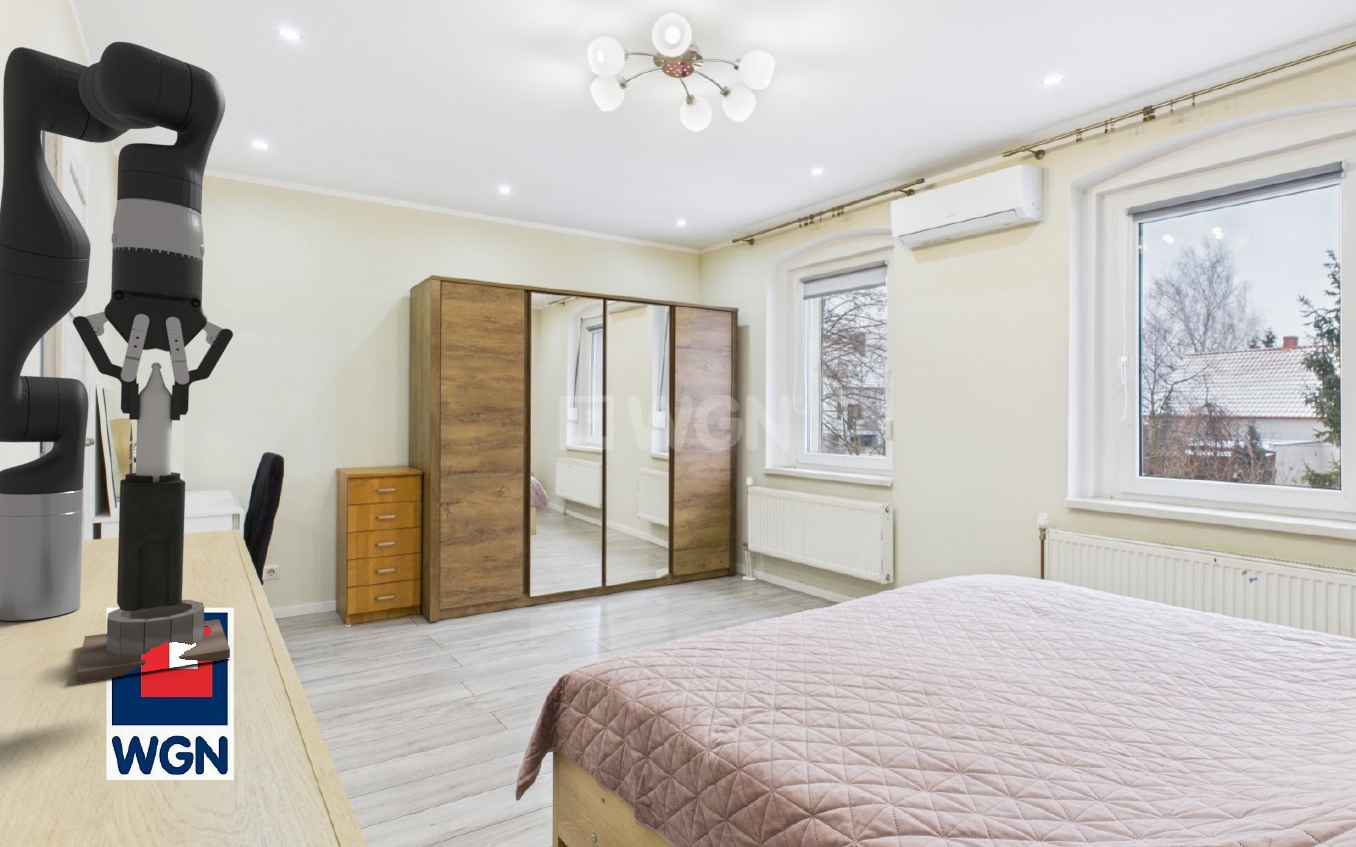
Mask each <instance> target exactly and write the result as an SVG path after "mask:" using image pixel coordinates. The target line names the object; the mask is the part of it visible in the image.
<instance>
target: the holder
mask: <svg viewBox="0 0 1356 847" xmlns="http://www.w3.org/2000/svg"><path fill="white" fill-rule="evenodd" d="M204 626H208V627H210V628H211V631H212V632H211V633H209V634H208V635H206V636H204ZM203 636H204V638H203ZM165 642H168V643H170V642H171V643H172V642H178V643H185V644H188V645H189V644H190V645H192V644H194V643H196V646H195V647H193V648H191V649H190V650H187V651H185V652H184V654H182V655H181V656H179V658H180V659H185V660H197V661H217V662H220V661H219V660H222V659H226V658H230V659H231V657H230V656H231V650H230V646H229V643H228V640H227V637H226V634H225V632H224V629H223V626H222V624H221V620H220V619H219V618H218V619H211V620H205V605H204V603H203V602H202V601H196V600H192V599H182V602H181V603H180V604H177V605H172V606H162V607H154V608H147V609H140V610H136V611H123V610H121V609H120V608H119V607H118V608H117V609H115V610H112V611H110V612H108V613H107V618H106V633H100V634H94V635H93V634H92V635H85V636H84V639H83V643H82V647H81V648H82V649H81V651H80V652H81V653H80V656H79V657H80V658H79V663H78V667H77V671H76V684H82V683H89V682H94V681H95V682H96V681H100V680H106V679H112V678H113V679H115V678H118V677H117V676H121V677H123V676H122V675H123V674H126V673H129V672H130V671H131V670H134V669H135V668H138V667H140V666H141V665H144V664H145V663H146V661H145V660H141V658H140V655H142V654H145V653H147V652H149V651H150V650H151V648H155V647H158V646H160V645H162V644H163V643H165Z"/></svg>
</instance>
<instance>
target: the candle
mask: <svg viewBox="0 0 1356 847" xmlns="http://www.w3.org/2000/svg"><path fill="white" fill-rule="evenodd" d="M150 368H151V369H152V370H151V372H150V374H149V378H148V380H147V382H146V384H145V386H144V387H142V390H140V391H139V393H138V420H136V445H135V446H136V450H135V452H136V453H135V454H136V455H135V472H134V473H133V472H132V473H131V472H130V473H126V474H125V477H124V479H121V480H120V481H119V508H118V509H119V511H118V512H119V514H118V515H119V516H118V517H119V518H118V548H117V549H118V550H117V554H118V555H117V583H116V584H117V586H116V587H117V588H116V589H117V590H116V591H117V592H116V604H117V605H118V609H119V608H120V609H121V610H123V611H136V610H140V609H147V608H154V607H162V606H172V605H177V604H180V603H181V602H182V600H183V577H184V576H183V575H184V548H185V547H184V546H185V544H184V542H185V509H186V508H185V507H186V506H185V505H186V481H185V480H183V479H181V473H179V472H172V471H171V470H172V469H171V468H172V467H171V466H172V441H173V439H172V437H173V436H172V435H173V434H172V433H173V420H172V392H171V391H170V390H169V389H168V387H167V386H166V384H165V380H164V378H163V375H162V372H161V369H162V365H161V364H160V363H159V362H153V363H152V364H151V366H150Z"/></svg>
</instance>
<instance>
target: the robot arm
mask: <svg viewBox="0 0 1356 847" xmlns="http://www.w3.org/2000/svg"><path fill="white" fill-rule="evenodd" d="M2 90H3V92H2V94H3V95H2V97H3V99H2V103H3V106H2V107H3V108H2V112H3V114H2V115H3V116H2V117H3V119H2V120H3V122H2V123H3V172H2V173H3V176H2V188H1V197H0V198H1V199H0V443H54V444H53V446H52V448H51V449H50V450H49V451H48V452H47V453H46V454H43V455H42V456H40V457H38V458H36V459H34V460H32V461H31V460H30V461H29V462H26V463H23V464H18V465H15V466H12V467H8V468H4V469H1V470H0V621H7V622H8V621H9V622H11V621H13V622H15V621H17V622H18V621H29V620H38V619H39V620H40V619H45V618H52V617H57V616H61V615H65V614H68V613H72V612H74V611H77V610H79V608H81V590H82V588H81V586H82V585H81V584H82V559H83V558H82V554H83V549H82V548H83V513H84V510H83V508H84V473H85V451H86V450H85V449H86V439H87V431H88V430H87V428H88V419H89V418H88V417H89V394H88V391H87V388H86V386H85V384H84V383H83V382H82V381H81V380H80V379H78V378H71V377H70V378H69V377H59V376H58V377H57V376H56V377H55V376H53V377H52V376H34V375H21V373H22V370H23V367H24V365H25V363H26V360H27V358H28V357H29V355H30V354H31V352H32V350H34V348H35V346H36V345H37V343H38V342H39V341H40V340H41V339H42V338H43V337H44V336H45V335H46V333H47V332H49V331H50V330H51V329H52V328H53V327H54V326H55V325H57V324H58V322H60V321H61V319H63V318H64V317H66V315H67V314H68V313H69V312H70V311H71V310H72V309H73V308H75V306H76V305H77V304H78V303H79V302H80V300H81V299H82V297H83V296H84V295H85V293H86V291H87V287H88V281H89V272H90V271H89V269H90V259H91V250H92V249H91V241H90V239H89V236H88V234H87V232H86V230H85V228H84V227H83V225H82V223H81V221H80V220H79V218H78V217H77V216H78V215H76V213H75V211H74V210H73V209H72V207H71V206H70V204H69V203H68V201H67V200H66V197H64V195H63V194H62V192H61V190H60V189H59V187H58V185H57V184H56V181H55V179H54V178H53V176H52V174H51V172H50V169H49V167H48V164H47V162H46V158H45V155H44V150H43V144H42V131H43V132H47V133H50V134H55V135H58V136H63V137H67V138H71V139H75V140H79V141H84V142H86V143H87V142H88V143H95V144H96V143H97V144H98V143H100V144H101V143H109V142H112V141H114V140H115V139H117V138H119V137H121V136H122V135H124V134H125V133H127V132H129V130H143V129H144V130H147V129H153V128H156V127H160V128H163V129H167V130H170V131H174V132H176V141H175V142H174V143H173V144H161V143H160V144H158V143H148V142H137V143H136V142H135V143H128V144H126V145H124V146H122V147H121V149H120V151H119V154H118V160H117V161H118V162H117V184H116V185H117V189H116V190H117V193H116V207H115V214H114V217H113V225H112V234H111V243H112V259H111V291H110V293H111V294H110V299H109V302H108V303H107V304H106V305H105V307H104V310H103V311H101V312H96V313H93V314H89V315H86V316H85V315H84V316H83V315H82V316H81V315H78V316H75V317H73V319H72V324H73V326H74V328H75V329H76V331H77V333H78V334H77V335H79V337H80V339H81V341H82V343H83V345H84V346H85V349H86V350H87V352H88V353H89V355H90V358H91V359H92V361H93V363H94V365H95V366H96V368H97V369H96V370H97V371H98V372H99V373H100V374H102V375H105V376H109V377H112V378H115V379H117V380H118V381H119V383H120V384H121V386H120V389H121V390H120V410H121V412H122V414H124V415H125V414H127V415H128V414H129V416H128V420H131V421H134V420H135V421H137V420H138V394H139V393H140V391H139V390H140V388H139V386H140V385H139V383H137V382H138V379H137V378H138V376H137V375H138V371H139V365H140V362H141V358H142V354H143V351H150V350H151V351H152V350H160V351H163V352H167V353H169V356H170V357H169V358H170V362H171V367H172V368H171V369H172V372H173V379H174V384H172V385H171V395H172V421H181V416H187V413H188V411H189V397H190V396H189V395H190V386H191V384H192V383H195V382H199V381H202V380H206V379H208V378H210V376H211V374H212V373H213V371H214V369H215V367H216V366H217V364H218V362H219V361H220V359H221V358H222V355H223V354H224V352H225V350H226V349H227V347H228V346H229V344H230V342H231V340H232V339H233V337H234V333H233V331H232V330H231V329H229V328H222V327H220V326H219V325H217V324H214V323H212V322H210V321H208V318H207V316H206V313H205V312H204V310H203V305H202V304H203V278H204V277H203V276H204V275H203V273H204V271H203V270H204V269H203V268H204V255H205V247H204V245H205V244H204V243H205V242H204V238H205V235H204V230H203V229H204V228H203V221H202V219H203V218H202V209H203V207H202V206H203V204H202V203H203V180H204V173H205V169H206V165H207V162H208V158H209V154H210V152H211V148H212V145H213V142H214V140H215V138H216V135H217V134H218V131H219V128H220V126H221V124H222V121H223V118H224V114H225V112H226V111H225V110H226V97H225V94H224V91H223V88H222V86H221V84H220V82H219V81H218V79H217V78H216V77H215V75H213V74H212V73H211V72H210V71H208V70H206V69H204V68H202V67H200V66H197V65H194V64H191V63H189V62H186V61H183V60H180V59H177V58H176V57H172V56H169V55H168V54H164V53H161V52H159V51H156V50H153V49H151V48H149V47H145V46H143V45H140V44H137V43H132V42H127V41H115V42H111V43H110V44H109V45H108V46H106V47H105V48H104V51H103V52H102V54H101V57H100V60H99V61H98V62H95V63H92V64H91V65H89V66H87V65H84V64H80V63H78V62H74V61H71V60H68V59H65V58H62V57H59V56H55V55H53V54H49V53H46V52H43V51H39V50H36V49H33V48H29V47H24V46H20V47H16V48H14V49H13V50H11V51H10V53H9V55H8V58H7V59H6V63H5V67H4V72H3V88H2ZM107 322H109V324H110V325H111V326H112V327H113V328H114V329H115V331H116V332H117V333H118V334H119V335H120V337H121V338H123V340H124V342H126V343H127V347H126V352H125V356H124V360H123V364H122V366H120V365H117V364H114V363H112V361H111V359H110V358H109V356H108V354H107V351H106V350H105V347H104V346H103V344H102V341H101V340H100V339H99V337H101V336H103V334H104V333H105V328H104V326H105V324H106V323H107ZM201 331H204V332H205V333H206V337H205V342H206V343H207V344H208V345H210V346H209V348H208V349H207V351H206V353H205V354H204V356H203V358H202V360H201V361H200V363H199V364H198V367H197V368H196V369H192V370H189V368H188V361H187V356H186V349H185V348H186V347H187V346H188V345H189V344H190V343H191V342H192V341H193V340H194V338H196V336H198V335H199V333H201Z"/></svg>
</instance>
